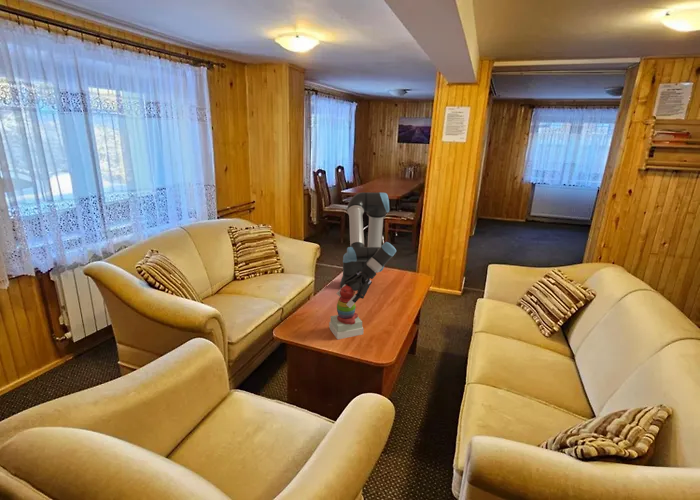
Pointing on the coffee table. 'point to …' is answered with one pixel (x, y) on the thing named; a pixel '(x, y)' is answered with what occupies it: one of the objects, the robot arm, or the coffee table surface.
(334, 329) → the tower base
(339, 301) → the stacking bear
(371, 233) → the robot arm
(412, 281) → the coffee table surface
